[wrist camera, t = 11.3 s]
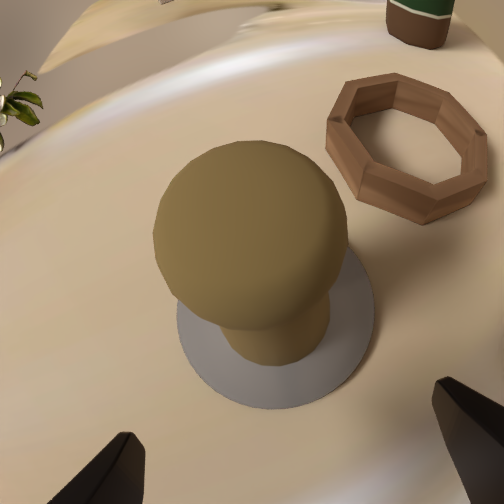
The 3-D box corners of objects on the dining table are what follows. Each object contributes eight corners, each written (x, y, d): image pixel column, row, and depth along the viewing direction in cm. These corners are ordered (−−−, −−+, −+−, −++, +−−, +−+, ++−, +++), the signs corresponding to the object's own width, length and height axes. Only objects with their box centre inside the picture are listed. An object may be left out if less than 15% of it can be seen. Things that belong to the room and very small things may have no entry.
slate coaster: (401, 361, 16) (404, 360, 15) (212, 432, 15) (209, 434, 15) (325, 198, 20) (325, 193, 20) (162, 258, 20) (159, 255, 19)
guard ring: (496, 192, 18) (513, 169, 16) (380, 243, 18) (392, 218, 16) (417, 94, 23) (424, 68, 20) (306, 120, 23) (305, 90, 20)
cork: (255, 241, 19) (209, 89, 9) (349, 288, 17) (407, 156, 7) (198, 330, 17) (76, 250, 7) (295, 387, 15) (292, 395, 5)
